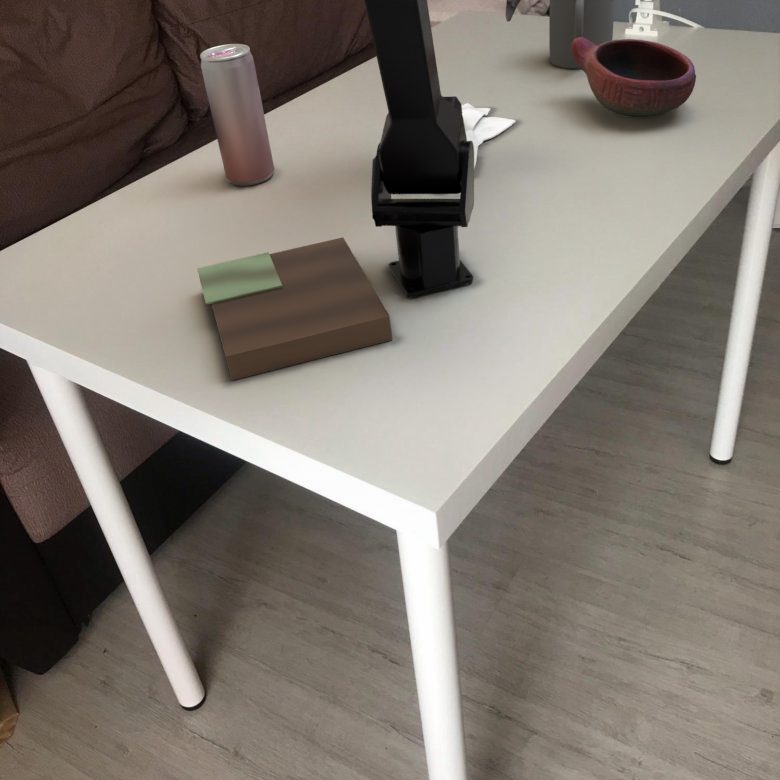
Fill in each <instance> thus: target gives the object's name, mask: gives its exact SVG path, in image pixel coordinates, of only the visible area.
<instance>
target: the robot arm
mask: <svg viewBox="0 0 780 780" xmlns="http://www.w3.org/2000/svg"><path fill="white" fill-rule="evenodd" d="M521 1H522V0H506V3H505V4H506V5H505V20H506V22H511V21H512V18H513V16H514V14H515V11H516V10H517V7H518V5H519V4H520V2H521ZM364 4H365V5H364V6H365V10H366V14H367V18H368V23H369V27H370V28H369V29H370V32H371V37H372V42H373V47H374V51H375V55H376V60H377V66H378V70H379V74H380V80H381V83H382V88H383V89H382V90H383V93H384V98H385V103H386V106H387V114H386V116H385V121H384V125H383V129H382V134H381V138H380V142H379V143H378V145H377V147H376V148H377V149H376V155H375V156H374V157H373V159H372V166H371V167H372V168H371V191H370V192H371V194H370V199H371V200H370V201H371V203H370V204H371V214H372V215H371V217H372V220H373V221H374V226H375V227H376V228H382V227H394V229H395V239H396V248H397V249H396V250H397V258H398V260H394V261H391V262H389V263H388V268H389V271H390V272H391V274H392V275H393V277H394V279H395V280H396V282H397V283H398V285H399V286H400V288H401V289H402V291H403V292H404V294H405V295H406V297H408V298H415V297H418V296H422V295H426V294H430V293H431V294H432V293H435V292H439V291H443V290H447V289H451V288H456V287H459V286H464V285H467V284H471V283H473V282H474V275H473V274H472V273H471V272H470V270H469V269H468V267H466V265H465V264H464V263H463V261H462V260H461V259H460V245H459V243H460V242H459V230H458V229H459V227H461V228H468V226H469V223H470V220H471V216H472V213H473V210H474V206H475V169H474V147H473V142H472V141H467V137H466V131H465V126H464V120H463V116H462V105H463V104H462V103H461V101H460V100H459V98H458V96H456V95H454V96H453V95H452V96H443V95H442V91H441V85H440V79H439V72H438V65H437V58H436V51H435V45H434V37H433V32H432V31H433V30H432V25H431V17H430V9H429V4H428V0H364ZM459 194H460V195H459ZM392 195H459V198H457V197H456V198H392Z"/></svg>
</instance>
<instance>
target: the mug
mask: <svg viewBox="0 0 780 780" xmlns="http://www.w3.org/2000/svg"><path fill="white" fill-rule="evenodd" d="M615 1H616V0H549V28H548V29H549V32H548V33H549V34H548V36H549V42H548V44H549V60H550V63H551V64H552V65H554V66H556V67H558V68H562V69H573V70H574V69H575V70H576V69H578V70H580V69H582V68H581V67H580V65H579V64H578V63H577V62H576V60H575V59H574V57H573V55H572V51H571V45H572V42H573V40H574V39H576V38H579V37H583V38H586V39H588V40H589V41H591V42H593V43H594V44H596V45H600V44H602V43H605V42H608V41H612V40H613V39H614V37H613V36H614V22H615V21H614V20H615V19H614V18H615V3H616V2H615Z"/></svg>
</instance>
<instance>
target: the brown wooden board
mask: <svg viewBox="0 0 780 780" xmlns="http://www.w3.org/2000/svg"><path fill="white" fill-rule="evenodd" d="M196 270H197V276H198V278H199V283H200V286H201V291H202V294H203V299H204V302H205V306H207V305H211V306H212V310H213V314H214V318H215V322H216V325H217V330H218V333H219V337H220V340H221V341H220V342H221V344H222V348H223V352H224V356H225V359H226V363H227V367H228V371H229V375H230V379H231V381H235V380H239V379H244V378H248V377H252V376H256V375H261V374H265V373H267V372H271V371H276V370H280V369H284V368H287V367H291V366H295V365H300V364H303V363H307V362H312V361H315V360H319V359H323V358H326V357H327V358H328V357H330V356H335V355H338V354H339V355H340V354H343V353H347V352H352V351H355V350H359V349H363V348H367V347H370V346H374V345H379V344H382V343H388V342H391V341H392V340H393V333H392V326H391V325H392V323H391V317H390V314H389V313H388V311H387V309H386V307H385V305H384V304H383V302H382V301H381V299H380V297H379V296H378V294H377V292H376V290H375V289H374V287H373V285H372V284H371V281H369V279H368V277H367V275H366V273H365V271H364V270H363V268H362V267H361V265H360V263H359V261H358V260H357V258H356V256H355V255H354V254H353V252H352V250H351V248H350V246H349V245H348V242H347V241H346V239H345V238H344V236H343V237H338V238H334V239H329V240H324V241H320V242H315V243H312V244H307V245H303V246H299V247H294V248H290V249H286V250H282V251H276V252H272V253H270V252H269V251H267V252H263V253H258V254H254V255H250V256H249V255H248V256H245V257H241V258H236V259H232V260H228V261H223V262H219V263H214V264H210V265H206V266H201V267H198V268H196Z"/></svg>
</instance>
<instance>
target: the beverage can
mask: <svg viewBox="0 0 780 780" xmlns="http://www.w3.org/2000/svg"><path fill="white" fill-rule="evenodd" d="M199 55H200V56H199V57H200V59H201V60H200V68H201V74H202V77H203V82H204V87H205V91H206V95H207V100H208V104H209V109H210V113H211V117H212V122H213V126H214V131H215V135H216V140H217V143H218V149H219V153H220V157H221V162H222V165H223V170H224V174H225V178H226V179H227V180H228V181H229V182H230V183H231V184H232V185H235V186H239V187H240V186H241V187H246V186H247V187H249V186H256V185H259V184H263V183H265V182H266V181H267V180H269V179H271V177H272V176H273V173H274V170H275V165H274V160H273V159H274V158H273V154H272V149H271V144H270V139H269V134H268V128H267V123H266V118H265V117H266V116H265V113H264V107H263V101H262V97H261V91H260V85H259V80H258V75H257V70H256V65H255V60H254V56H253V54H252V52H251V48H250V46H249V45H247V44H242V43H227V44H222V45H217V46H213V47H209V48H207V49H205V50H204V51H202V52H201V53H200V54H199Z"/></svg>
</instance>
